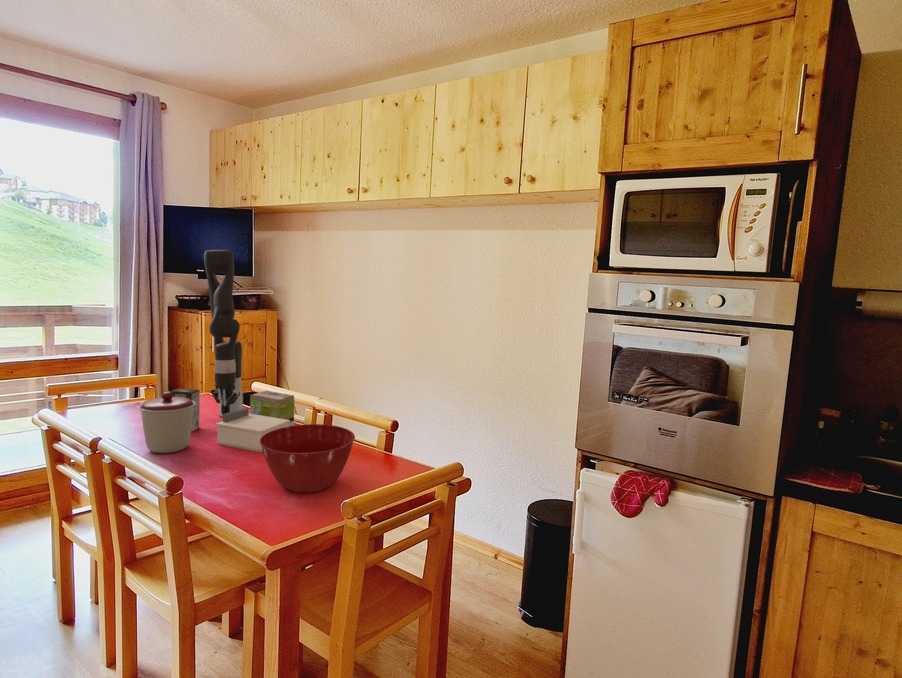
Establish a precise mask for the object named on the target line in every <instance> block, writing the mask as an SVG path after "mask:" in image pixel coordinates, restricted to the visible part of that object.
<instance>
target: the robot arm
mask: <svg viewBox="0 0 902 678" xmlns="http://www.w3.org/2000/svg"><path fill="white" fill-rule="evenodd" d="M203 261H204V263H203V264H204V269H205V274H206V278H207V285H208V291H209V304H210V307H209V308H210V314H211V322H210V324H209V334H210V335H211V336H212V337H213V339H214V340H213V341H214V344H213V345H214V346H213V347H214V366H213V367H214V383H215V386H214V388H213V389H211V390H210V393H211V395H212V397H213V398H214V401H215V402H216V403H217V404H218V405H219V406H218V408H219V409H218V410H219V411H218V413H219V414H218V415H219V416H220V417H222V418H223V414H226V413H229V412H232V411H235V410H238V409H242V408H244V393H243V392H242V362H243V361H242V358H243V356H242V355H243V345H242V343H241V342H240V341H238V340H237V339H238V336H239V333H240V330H241V325H240V322H239V321H238V320H237V319H235V314H236V312H235V303H234V302H235V301H234V299H233V297H234V296H233V290H234V282H235V281H234V279H235V278H234V277H235V259H234V254H233V251H231V250H229V249H210V250H209V249H208V250H205V251H204V254H203ZM216 274H225V275H224V277H223V279H222V281H221V283H220V281H219V280H218V278H217V276H216ZM224 338H229V339H228V340H224Z"/></svg>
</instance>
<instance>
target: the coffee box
mask: <svg viewBox="0 0 902 678" xmlns="http://www.w3.org/2000/svg"><path fill="white" fill-rule="evenodd" d="M170 392H171V393H172V394H173V397H184V398H188V399H190V400H192V401H194V402H195V403H196V404H195V406H194V407H193V417H192V426H191V433H192V432H193V431H196V430H198V429H200V426H201V425H200V423H201V421H200V414H201V413H200V411H201V410H200V409H201V408H200V397H201V396H200V394H201V393H200V389H194V388H184V387H178V388H176V389H173V390H170Z"/></svg>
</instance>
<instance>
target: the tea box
mask: <svg viewBox="0 0 902 678" xmlns="http://www.w3.org/2000/svg"><path fill="white" fill-rule="evenodd" d="M249 397H250V398H249V405H250V407H249V414H255V415H261V416H268V417H274V418H280V419H286V420H290V422H289V426H295V395H294V394H288V393H281V392H277V391H270V390H264V391H261V392H257V393H254V394H250V395H249Z"/></svg>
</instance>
